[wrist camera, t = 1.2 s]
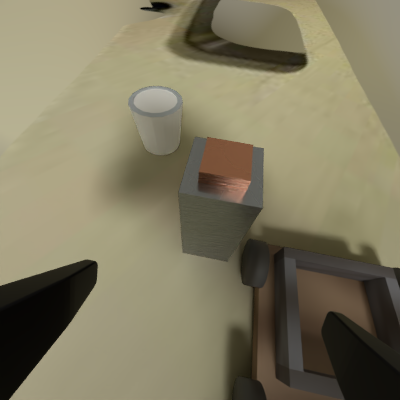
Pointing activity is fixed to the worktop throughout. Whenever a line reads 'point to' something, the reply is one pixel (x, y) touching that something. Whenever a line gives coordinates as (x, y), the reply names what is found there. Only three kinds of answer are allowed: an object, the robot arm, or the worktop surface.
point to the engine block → (219, 196)
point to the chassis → (309, 317)
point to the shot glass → (157, 118)
